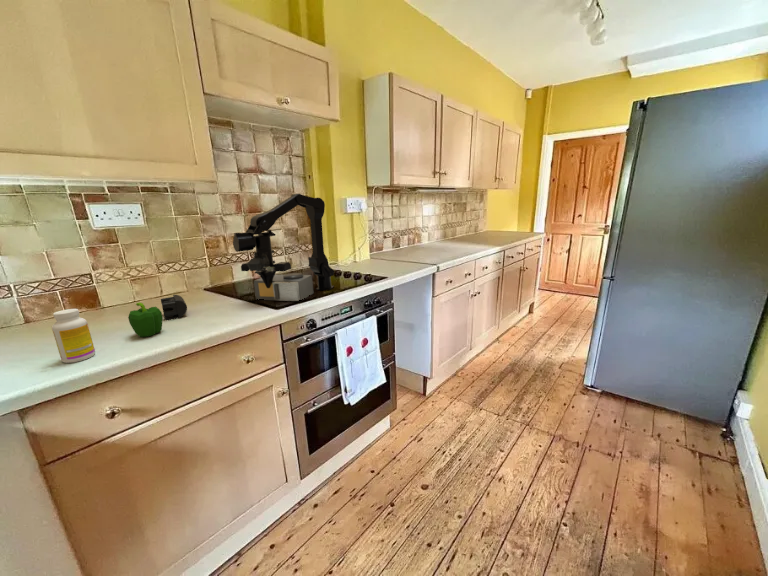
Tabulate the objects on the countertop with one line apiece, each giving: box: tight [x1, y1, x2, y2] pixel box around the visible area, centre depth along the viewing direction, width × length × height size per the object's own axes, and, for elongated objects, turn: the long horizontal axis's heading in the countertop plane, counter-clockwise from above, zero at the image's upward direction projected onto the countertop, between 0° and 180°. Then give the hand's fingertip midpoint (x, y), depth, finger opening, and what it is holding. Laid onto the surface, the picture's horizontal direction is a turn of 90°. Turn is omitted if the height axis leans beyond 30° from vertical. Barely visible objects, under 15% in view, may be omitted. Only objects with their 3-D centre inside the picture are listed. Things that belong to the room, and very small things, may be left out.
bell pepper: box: [127, 302, 164, 338], centre depth 100 cm, size 8×8×10 cm
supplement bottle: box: [51, 308, 96, 364], centre depth 85 cm, size 7×7×13 cm
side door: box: [273, 282, 300, 302], centre depth 130 cm, size 3×10×7 cm, turn 77°
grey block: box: [253, 272, 315, 301], centre depth 138 cm, size 12×20×9 cm, turn 77°
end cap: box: [160, 294, 188, 321], centre depth 118 cm, size 10×7×7 cm
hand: (268, 287), depth 131 cm, fingers closed
